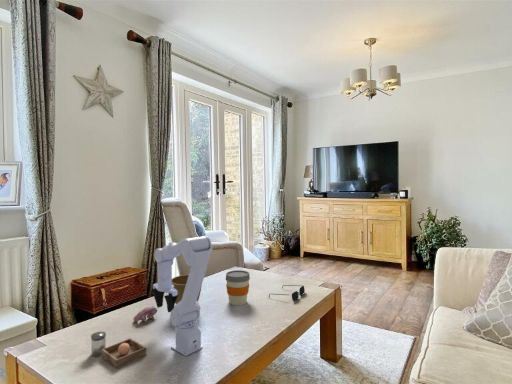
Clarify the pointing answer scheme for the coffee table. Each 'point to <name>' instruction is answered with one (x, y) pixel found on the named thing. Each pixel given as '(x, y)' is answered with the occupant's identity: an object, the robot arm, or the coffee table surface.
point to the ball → (123, 349)
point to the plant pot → (181, 286)
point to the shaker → (98, 343)
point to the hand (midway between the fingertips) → (165, 309)
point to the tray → (120, 360)
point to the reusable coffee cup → (237, 286)
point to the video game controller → (142, 314)
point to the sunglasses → (295, 294)
